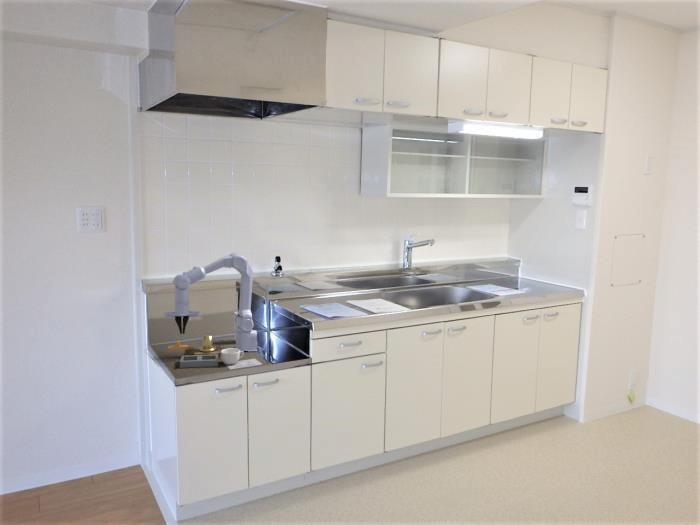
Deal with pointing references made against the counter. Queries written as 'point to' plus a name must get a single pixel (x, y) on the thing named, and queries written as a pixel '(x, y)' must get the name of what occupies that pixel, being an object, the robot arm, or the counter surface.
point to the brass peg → (207, 344)
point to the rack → (199, 361)
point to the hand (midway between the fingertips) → (182, 333)
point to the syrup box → (235, 326)
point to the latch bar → (178, 346)
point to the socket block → (197, 352)
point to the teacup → (230, 355)
